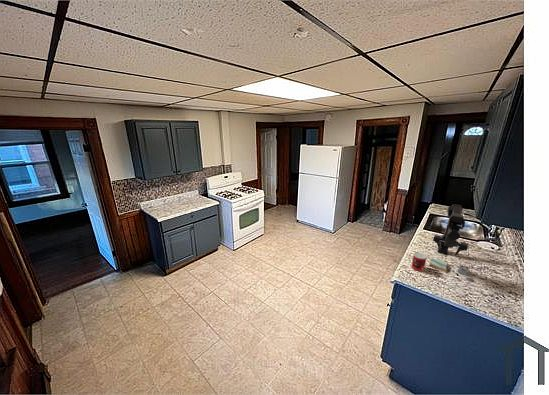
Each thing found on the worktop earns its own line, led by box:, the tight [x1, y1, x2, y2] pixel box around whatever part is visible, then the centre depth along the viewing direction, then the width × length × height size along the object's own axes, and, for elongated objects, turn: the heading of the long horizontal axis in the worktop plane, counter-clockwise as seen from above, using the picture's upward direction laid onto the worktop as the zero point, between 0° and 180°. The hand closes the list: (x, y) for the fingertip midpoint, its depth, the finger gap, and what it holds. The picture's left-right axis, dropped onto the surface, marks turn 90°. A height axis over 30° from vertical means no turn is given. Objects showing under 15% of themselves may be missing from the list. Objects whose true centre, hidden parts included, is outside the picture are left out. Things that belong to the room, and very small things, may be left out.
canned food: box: [411, 251, 428, 272], centre depth 157 cm, size 8×8×11 cm
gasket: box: [465, 276, 475, 283], centre depth 147 cm, size 4×4×1 cm
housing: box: [457, 264, 470, 277], centre depth 154 cm, size 7×5×4 cm
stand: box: [428, 257, 449, 273], centre depth 161 cm, size 10×10×2 cm
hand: (446, 252), depth 153 cm, fingers open, 9 cm apart
